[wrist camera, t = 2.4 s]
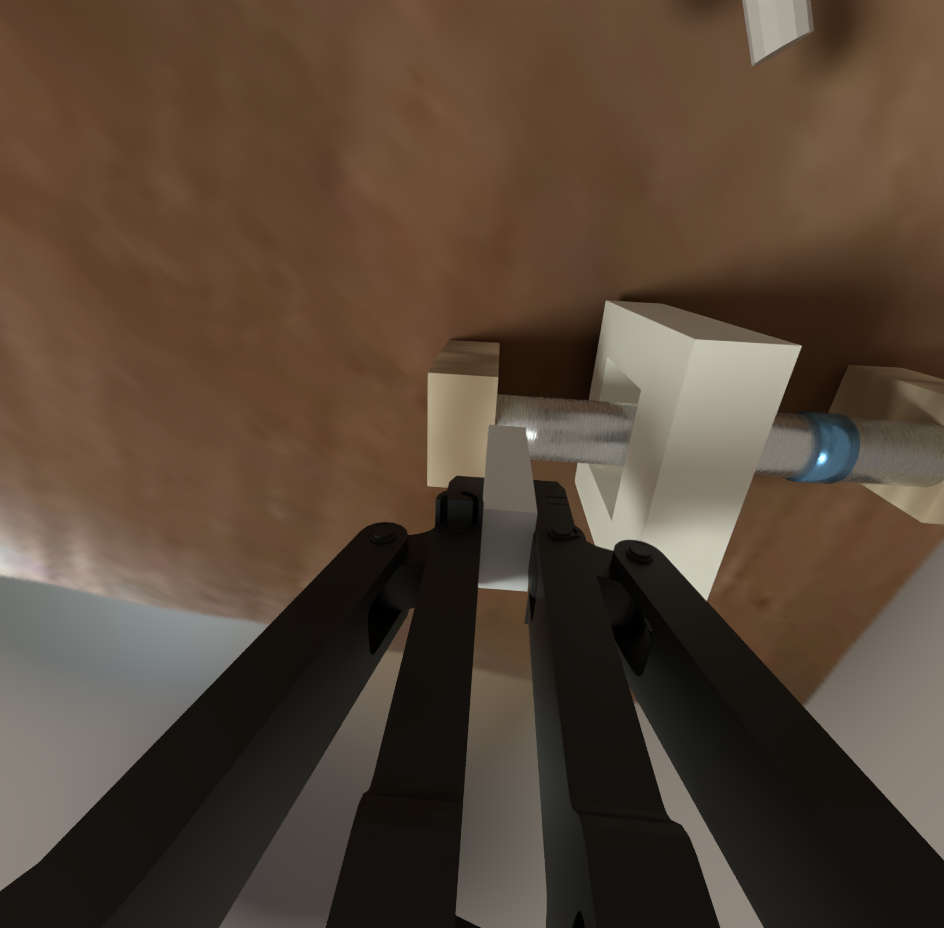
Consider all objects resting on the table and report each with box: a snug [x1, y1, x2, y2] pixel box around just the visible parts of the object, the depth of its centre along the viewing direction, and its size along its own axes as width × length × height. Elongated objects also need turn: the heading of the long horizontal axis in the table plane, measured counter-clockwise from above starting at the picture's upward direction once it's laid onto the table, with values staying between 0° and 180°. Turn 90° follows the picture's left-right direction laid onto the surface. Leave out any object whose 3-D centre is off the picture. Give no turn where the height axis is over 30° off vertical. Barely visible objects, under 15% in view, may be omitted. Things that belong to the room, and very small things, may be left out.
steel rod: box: [495, 394, 944, 487], centre depth 21 cm, size 25×3×3 cm, turn 87°
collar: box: [575, 300, 802, 601], centre depth 20 cm, size 3×11×12 cm, turn 177°
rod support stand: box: [427, 340, 944, 524], centre depth 23 cm, size 26×6×8 cm, turn 87°
